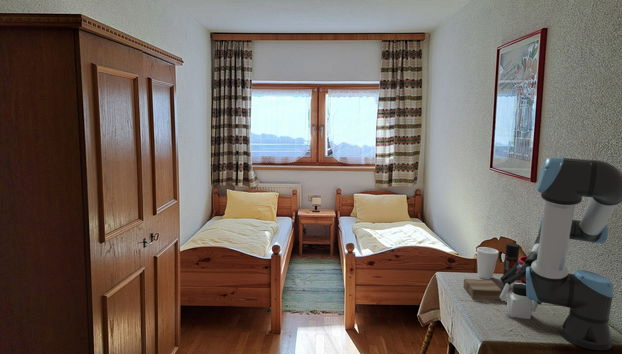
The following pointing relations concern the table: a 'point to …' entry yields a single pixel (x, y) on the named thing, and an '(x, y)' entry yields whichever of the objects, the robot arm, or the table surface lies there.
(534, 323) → the table surface
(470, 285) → the walnut plinth
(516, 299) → the medicine bottle
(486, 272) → the foam cup
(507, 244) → the deodorant
